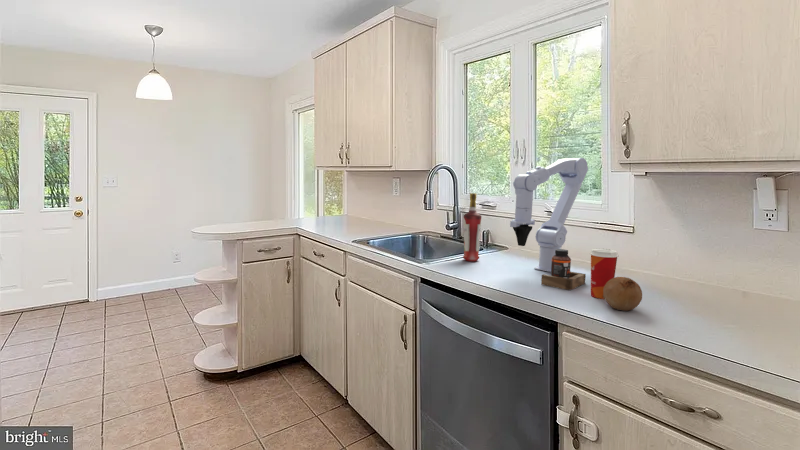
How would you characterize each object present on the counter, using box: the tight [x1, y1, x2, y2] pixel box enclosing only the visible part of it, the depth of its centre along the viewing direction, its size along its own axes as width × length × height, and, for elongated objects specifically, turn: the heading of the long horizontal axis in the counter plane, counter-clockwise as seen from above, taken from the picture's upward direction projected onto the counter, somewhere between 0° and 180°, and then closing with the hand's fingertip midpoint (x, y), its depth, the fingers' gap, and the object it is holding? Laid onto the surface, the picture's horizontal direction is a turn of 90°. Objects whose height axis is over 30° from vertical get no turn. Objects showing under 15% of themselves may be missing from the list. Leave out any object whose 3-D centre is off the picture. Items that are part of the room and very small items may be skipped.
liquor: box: [462, 192, 482, 263], centre depth 175 cm, size 7×7×28 cm
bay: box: [540, 271, 586, 291], centre depth 140 cm, size 12×10×3 cm
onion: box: [603, 276, 643, 312], centre depth 115 cm, size 10×9×10 cm
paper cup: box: [589, 248, 619, 300], centre depth 126 cm, size 8×8×14 cm
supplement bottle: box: [550, 248, 572, 279], centre depth 141 cm, size 6×6×11 cm
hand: (521, 245), depth 153 cm, fingers closed
